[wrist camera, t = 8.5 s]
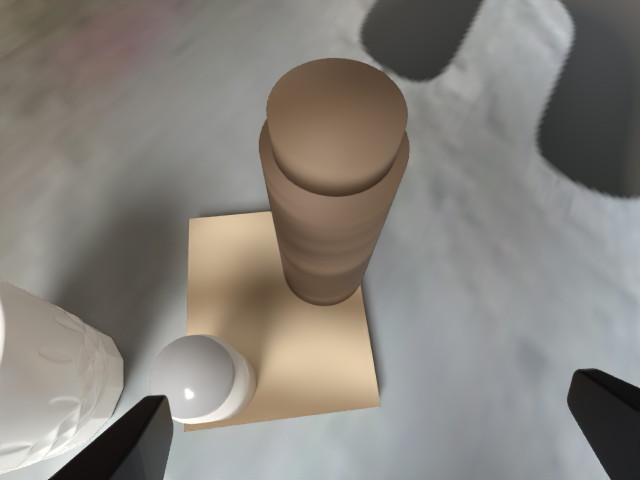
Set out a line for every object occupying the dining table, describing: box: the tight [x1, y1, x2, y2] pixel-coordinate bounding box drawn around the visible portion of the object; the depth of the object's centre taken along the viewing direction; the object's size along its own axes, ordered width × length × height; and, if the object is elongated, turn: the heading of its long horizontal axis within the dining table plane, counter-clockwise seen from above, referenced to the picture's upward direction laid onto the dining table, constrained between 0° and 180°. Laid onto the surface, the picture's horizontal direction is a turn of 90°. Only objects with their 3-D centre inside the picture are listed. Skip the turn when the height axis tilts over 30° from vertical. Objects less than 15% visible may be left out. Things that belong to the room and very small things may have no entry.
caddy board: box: [184, 211, 381, 432], centre depth 22 cm, size 12×10×1 cm
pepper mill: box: [259, 58, 409, 306], centre depth 17 cm, size 5×5×13 cm
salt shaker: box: [150, 334, 256, 424], centre depth 17 cm, size 3×3×6 cm
